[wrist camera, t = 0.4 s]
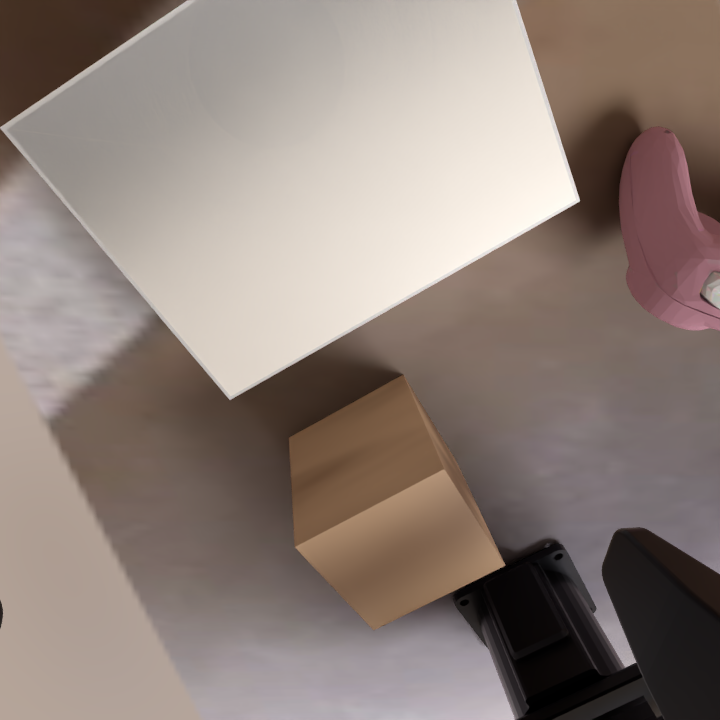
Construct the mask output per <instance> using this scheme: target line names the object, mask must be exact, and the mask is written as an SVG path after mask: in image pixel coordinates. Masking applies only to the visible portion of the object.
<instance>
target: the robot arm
mask: <svg viewBox="0 0 720 720" xmlns="http://www.w3.org/2000/svg"><path fill="white" fill-rule="evenodd" d="M602 576H603V581H604V584H605V586H606V589H607V591H608V594H609V596H610V599H611V601H612V603H613V606H614V608H615V611H616V613H617V616H618V618H619V621H620V623H621V626H622V628H623V630H624V633H625V635H626V638H627V640H628V643H629V645H630V648H631V650H632V653H633V655H634V658H635V660H636V662H637V663H634V664H632V665H630V666H628V667H626V668H625V667H624V665H623V663H622V662H621V660H620V658H619V657H618V655H617V653H616V651H615V650H614V648H613V646H612V645H611V643H610V641H609V640H608V638H607V636H606V635H605V633H604V631H603V630H602V628H601V626H600V624H599V623H598V621H597V619H596V618H595V616H594V614H593V613H594V612H595V611H596V606H595V604H594V602H593V600H592V598H591V596H590V595H589V593H588V591H587V589H586V587H585V585H584V583H583V581H582V579H581V577H580V575H579V574H578V572H577V570H576V568H575V566H574V564H573V562H572V560H571V558H570V556H569V554H568V553H567V551H566V549H565V548H564V546H563V545H561V544H554V545H552V546H550V547H548V548H546V549H544V550H542V551H540V552H537V553H535V554H533V555H531V556H529V557H527V558H525V559H523V560H521V561H519V562H517V563H515V564H513V565H511V566H509V567H507V568H505V569H503V570H501V571H499V572H497V573H495V574H493V575H491V576H489V577H487V578H485V579H483V580H481V581H479V582H476V583H474V584H472V585H470V586H468V587H466V588H464V589H462V590H460V591H458V592H457V593H455V595H454V596H453V599H454V602H455V605H456V607H457V609H458V610H459V611H460V612H461V614H462V615H463V616H464V618H465V619H466V620H467V622H468V623H469V624H470V626H471V627H472V628H473V629H474V631H475V632H476V633H477V635H478V636H479V637H480V639H481V640H482V641H483V643H484V644H485V645H486V646H487V648H488V649H489V651H490V654H491V656H492V659H493V662H494V664H495V667H496V670H497V672H498V675H499V678H500V680H501V683H502V686H503V688H504V691H505V694H506V696H507V699H508V702H509V704H510V707H511V709H512V712H513V715H514V717H515V720H720V574H718V573H717V572H715V571H714V570H712V569H710V568H709V567H707V566H706V565H704V564H702V563H701V562H699V561H697V560H696V559H694V558H693V557H691V556H689V555H688V554H686V553H685V552H683V551H681V550H680V549H678V548H676V547H675V546H673V545H672V544H670V543H668V542H667V541H665V540H664V539H662V538H660V537H659V536H657V535H655V534H654V533H652V532H651V531H649V530H647V529H645V528H640V527H638V528H621V529H618V530H617V531H616V532H615V533H614V535H613V537H612V540H611V543H610V545H609V548H608V551H607V554H606V556H605V559H604V562H603V565H602ZM2 618H3V609H2V604H1V601H0V627H1V624H2Z"/></svg>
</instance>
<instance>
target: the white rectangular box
mask: <svg viewBox="0 0 720 720" xmlns="http://www.w3.org/2000/svg"><path fill="white" fill-rule="evenodd" d="M0 129H1V130H2V131H3V132H4V133H5V134H6V136H7V137H8V138H9V139H10V140H11V142H12V143H13V144H14V145H15V146H16V147H17V149H18V150H19V151H20V152H21V153H22V155H23V156H24V157H25V158H26V159H27V160H28V162H29V163H30V164H31V165H32V166H33V168H34V169H35V170H36V171H37V172H38V174H39V175H40V176H41V177H42V178H43V179H44V181H45V182H46V183H47V184H48V185H49V187H50V188H51V189H52V190H53V191H54V192H55V194H56V195H57V196H58V197H59V198H60V200H61V201H62V202H63V203H64V204H65V205H66V207H67V208H68V209H69V210H70V211H71V213H72V214H73V215H74V216H75V217H76V218H77V220H78V221H79V222H80V223H81V224H82V226H83V227H84V228H85V229H86V230H87V231H88V233H89V234H90V235H91V236H92V237H93V239H94V240H95V241H96V242H97V243H98V245H99V246H100V247H101V248H102V249H103V250H104V252H105V253H106V254H107V255H108V256H109V258H110V259H111V260H112V261H113V262H114V263H115V265H116V266H117V267H118V268H119V269H120V271H121V272H122V273H123V274H124V275H125V276H126V278H127V279H128V280H129V281H130V282H131V284H132V285H133V286H134V287H135V288H136V289H137V291H138V292H139V293H140V294H141V295H142V297H143V298H144V299H145V300H146V301H147V303H148V304H149V305H150V306H151V307H152V308H153V310H154V311H155V312H156V313H157V314H158V316H159V317H160V318H161V319H162V320H163V321H164V323H165V324H166V325H167V326H168V327H169V329H170V330H171V331H172V332H173V333H174V334H175V336H176V337H177V338H178V339H179V340H180V342H181V343H182V344H183V345H184V346H185V347H186V349H187V350H188V351H189V352H190V353H191V355H192V356H193V357H194V358H195V359H196V360H197V362H198V363H199V364H200V365H201V366H202V368H203V369H204V370H205V371H206V372H207V374H208V375H209V376H210V377H211V378H212V379H213V381H214V382H215V383H216V384H217V385H218V387H219V388H220V389H221V390H222V391H223V392H224V394H225V395H226V396H227V397H228V398H229V400H231V399H233V398H234V397H236V396H238V395H240V394H241V393H243V392H245V391H247V390H248V389H250V388H252V387H254V386H256V385H257V384H259V383H261V382H263V381H264V380H266V379H268V378H270V377H271V376H273V375H275V374H277V373H278V372H280V371H282V370H284V369H285V368H287V367H289V366H291V365H292V364H294V363H296V362H298V361H300V360H301V359H303V358H305V357H307V356H308V355H310V354H312V353H314V352H315V351H317V350H319V349H321V348H322V347H324V346H326V345H328V344H329V343H331V342H333V341H335V340H337V339H338V338H340V337H342V336H344V335H345V334H347V333H349V332H351V331H352V330H354V329H356V328H358V327H359V326H361V325H363V324H365V323H366V322H368V321H370V320H372V319H374V318H375V317H377V316H379V315H381V314H382V313H384V312H386V311H388V310H389V309H391V308H393V307H395V306H396V305H398V304H400V303H402V302H403V301H405V300H407V299H409V298H411V297H412V296H414V295H416V294H418V293H419V292H421V291H423V290H425V289H426V288H428V287H430V286H432V285H433V284H435V283H437V282H439V281H440V280H442V279H444V278H446V277H447V276H449V275H451V274H453V273H455V272H456V271H458V270H460V269H462V268H463V267H465V266H467V265H469V264H470V263H472V262H474V261H476V260H477V259H479V258H481V257H483V256H484V255H486V254H488V253H490V252H492V251H493V250H495V249H497V248H499V247H500V246H502V245H504V244H506V243H507V242H509V241H511V240H513V239H514V238H516V237H518V236H520V235H521V234H523V233H525V232H527V231H529V230H530V229H532V228H534V227H536V226H537V225H539V224H541V223H543V222H544V221H546V220H548V219H550V218H551V217H553V216H555V215H557V214H558V213H560V212H562V211H564V210H566V209H567V208H569V207H571V206H573V205H574V204H576V203H578V202H580V199H579V196H578V193H577V190H576V186H575V183H574V180H573V177H572V174H571V171H570V168H569V165H568V161H567V158H566V155H565V152H564V149H563V146H562V143H561V139H560V136H559V133H558V130H557V127H556V124H555V121H554V118H553V114H552V111H551V108H550V105H549V102H548V99H547V96H546V93H545V89H544V86H543V83H542V80H541V77H540V74H539V71H538V68H537V64H536V61H535V58H534V55H533V52H532V49H531V46H530V43H529V39H528V36H527V33H526V30H525V27H524V24H523V21H522V18H521V14H520V11H519V8H518V5H517V2H516V0H187V1H186V2H184V3H183V4H181V5H180V6H178V7H177V8H175V9H174V10H172V11H171V12H169V13H168V14H166V15H165V16H163V17H162V18H160V19H159V20H158V21H156V22H155V23H153V24H152V25H150V26H149V27H147V28H146V29H144V30H143V31H141V32H140V33H138V34H137V35H135V36H134V37H132V38H131V39H130V40H128V41H127V42H125V43H124V44H122V45H121V46H119V47H118V48H116V49H115V50H113V51H112V52H110V53H109V54H107V55H106V56H104V57H103V58H102V59H100V60H99V61H97V62H96V63H94V64H93V65H91V66H90V67H88V68H87V69H85V70H84V71H82V72H81V73H79V74H78V75H76V76H75V77H73V78H72V79H71V80H69V81H68V82H66V83H65V84H63V85H62V86H60V87H59V88H57V89H56V90H54V91H53V92H51V93H50V94H48V95H47V96H45V97H44V98H43V99H41V100H40V101H38V102H37V103H35V104H34V105H32V106H31V107H29V108H28V109H26V110H25V111H23V112H22V113H20V114H19V115H17V116H16V117H15V118H13V119H12V120H10V121H9V122H7V123H6V124H4V125H3V126H1V127H0Z"/></svg>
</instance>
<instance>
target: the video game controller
mask: <svg viewBox="0 0 720 720" xmlns="http://www.w3.org/2000/svg"><path fill="white" fill-rule="evenodd" d="M619 211H620V222H621V231H622V235H623V239H624V244H625V248H626V252H627V257H628V261H629V268H628V270H627V274H626V280H627V284H628V287H629V289H630V291H631V293H632V295H633V297H634V298H635V299H636V301H637V302H638V303H639V304H640V305H641V306H642V307H643V308H644V309H645V310H647V311H648V312H649V313H651V314H652V315H654V316H656V317H657V318H659V319H661V320H663V321H665V322H667V323H669V324H671V325H673V326H675V327H679V328H682V329H687V330H703V329H708V328H712V329H716V330H719V331H720V223H719V222H718V221H716V220H715V219H713V218H712V217H709V216H707V215H705V214H703V213H700V212H697V209H696V205H695V202H694V198H693V195H692V190H691V184H690V178H689V172H688V166H687V162H686V158H685V154H684V150H683V148H682V146H681V145H680V143H679V141H678V139H677V138H676V136H675V135H674V133H673V132H672V131H670V130H669V129H666V128H663V127H659V126H658V127H651V128H649V129H647V130H646V131H644V132H643V133H642V134H640V135H639V136H638V137H637V138H636V139H635V141H634V142H633V143H632V145H631V147H630V149H629V151H628V154H627V156H626V159H625V163H624V166H623V169H622V175H621V181H620V190H619Z"/></svg>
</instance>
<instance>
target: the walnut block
mask: <svg viewBox="0 0 720 720" xmlns="http://www.w3.org/2000/svg"><path fill="white" fill-rule="evenodd" d="M289 449H290V468H291V487H292V505H293V524H294V543H295V548H296V549H297V550H298V551H299V552H300V553H301V554H302V555H303V556H304V557H305V558H306V560H307V561H308V562H309V563H310V564H311V565H312V566H313V567H314V568H315V569H316V570H317V571H318V572H319V573H320V574H321V575H322V576H323V577H324V579H325V580H326V581H327V582H328V583H329V584H330V585H331V586H332V587H333V588H334V589H335V590H336V591H337V592H338V593H339V594H340V595H341V596H342V597H343V599H344V600H345V601H346V602H347V603H348V604H349V605H350V606H351V607H352V608H353V609H354V610H355V611H356V612H357V613H358V614H359V615H360V616H361V617H362V619H363V620H364V621H365V622H366V623H367V624H368V625H369V626H370V627H371V628H372V629H373V630H375V629H377V628H379V627H381V626H384V625H386V624H388V623H390V622H392V621H394V620H396V619H398V618H400V617H402V616H404V615H406V614H408V613H410V612H412V611H414V610H416V609H418V608H420V607H422V606H424V605H426V604H428V603H430V602H432V601H434V600H436V599H439V598H441V597H443V596H445V595H447V594H449V593H451V592H453V591H455V590H457V589H459V588H461V587H463V586H465V585H467V584H469V583H471V582H473V581H475V580H477V579H479V578H481V577H483V576H485V575H487V574H489V573H491V572H494V571H496V570H498V569H500V568H502V567H504V566H505V563H504V561H503V559H502V557H501V555H500V553H499V551H498V549H497V546H496V544H495V542H494V540H493V538H492V536H491V534H490V532H489V530H488V527H487V525H486V523H485V521H484V519H483V517H482V515H481V513H480V510H479V508H478V506H477V504H476V502H475V500H474V498H473V496H472V494H471V491H470V489H469V487H468V485H467V483H466V481H465V479H464V477H463V474H462V472H461V470H460V468H459V466H458V464H457V462H456V460H455V458H454V457H453V455H452V453H451V452H450V450H449V449H448V447H447V445H446V444H445V442H444V440H443V439H442V437H441V435H440V434H439V432H438V431H437V429H436V427H435V426H434V424H433V422H432V421H431V419H430V417H429V416H428V414H427V413H426V411H425V409H424V408H423V406H422V404H421V403H420V401H419V399H418V398H417V396H416V395H415V393H414V391H413V390H412V388H411V386H410V385H409V383H408V382H407V380H406V378H405V377H404V375H401V376H400V377H398V378H396V379H394V380H392V381H391V382H389V383H387V384H385V385H383V386H382V387H380V388H378V389H376V390H374V391H373V392H371V393H369V394H367V395H365V396H364V397H362V398H360V399H358V400H356V401H354V402H353V403H351V404H349V405H347V406H345V407H344V408H342V409H340V410H338V411H336V412H335V413H333V414H331V415H329V416H327V417H326V418H324V419H322V420H320V421H318V422H317V423H315V424H313V425H311V426H309V427H307V428H306V429H304V430H302V431H300V432H298V433H297V434H295V435H293V436H291V437H289Z"/></svg>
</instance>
